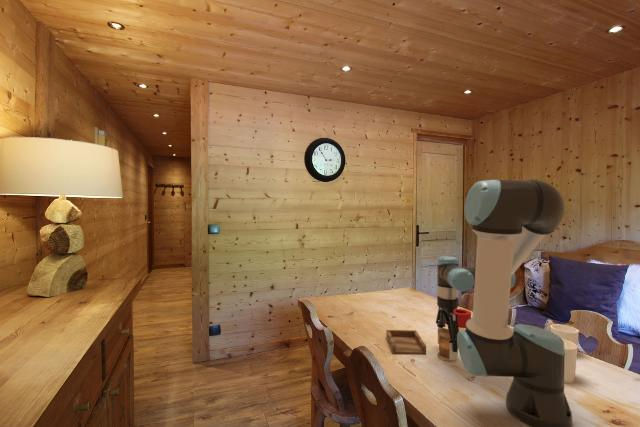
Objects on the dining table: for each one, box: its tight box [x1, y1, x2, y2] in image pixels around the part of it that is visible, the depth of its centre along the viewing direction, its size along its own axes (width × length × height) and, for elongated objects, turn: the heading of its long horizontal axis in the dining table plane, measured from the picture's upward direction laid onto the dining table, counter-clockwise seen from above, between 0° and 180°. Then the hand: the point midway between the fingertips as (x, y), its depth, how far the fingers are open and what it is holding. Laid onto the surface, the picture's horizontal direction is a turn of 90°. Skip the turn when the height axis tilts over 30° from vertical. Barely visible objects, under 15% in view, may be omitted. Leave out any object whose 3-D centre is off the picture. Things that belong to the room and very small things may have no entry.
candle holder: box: [562, 339, 579, 384], centre depth 109 cm, size 10×10×12 cm
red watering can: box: [453, 308, 472, 329], centre depth 163 cm, size 18×9×7 cm, turn 14°
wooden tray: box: [385, 329, 427, 356], centre depth 134 cm, size 16×13×4 cm
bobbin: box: [437, 328, 457, 362], centre depth 123 cm, size 7×7×10 cm
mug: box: [550, 323, 580, 347], centre depth 127 cm, size 11×9×10 cm
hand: (447, 351), depth 123 cm, fingers open, 13 cm apart
